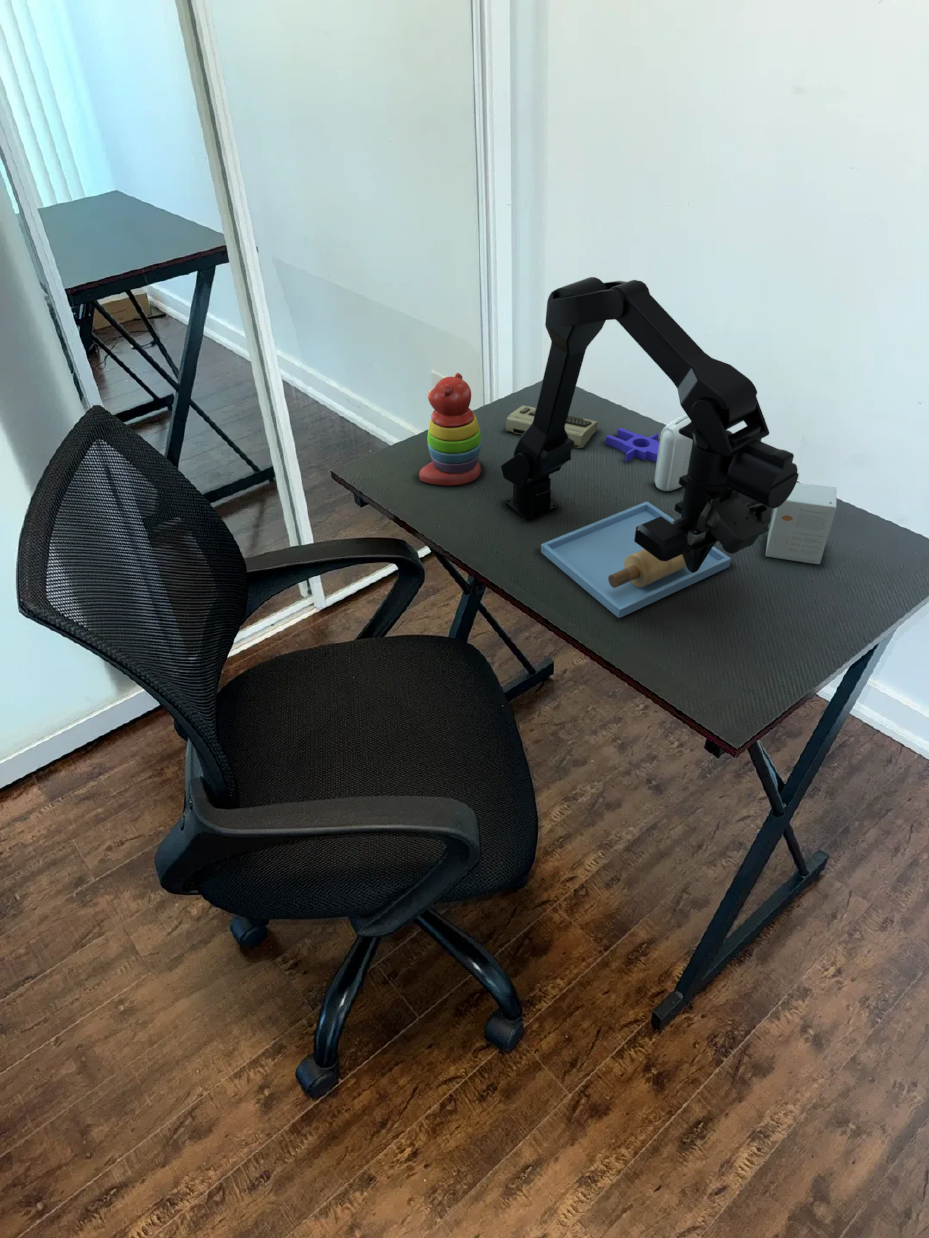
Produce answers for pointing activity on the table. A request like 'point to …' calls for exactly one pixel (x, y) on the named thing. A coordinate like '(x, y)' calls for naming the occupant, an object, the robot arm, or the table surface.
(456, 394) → the stacking bear
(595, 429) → the computer
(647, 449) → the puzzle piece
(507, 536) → the table surface
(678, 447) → the photo printer
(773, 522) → the small box
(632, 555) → the rolling pin
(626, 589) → the tray
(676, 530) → the robot arm
